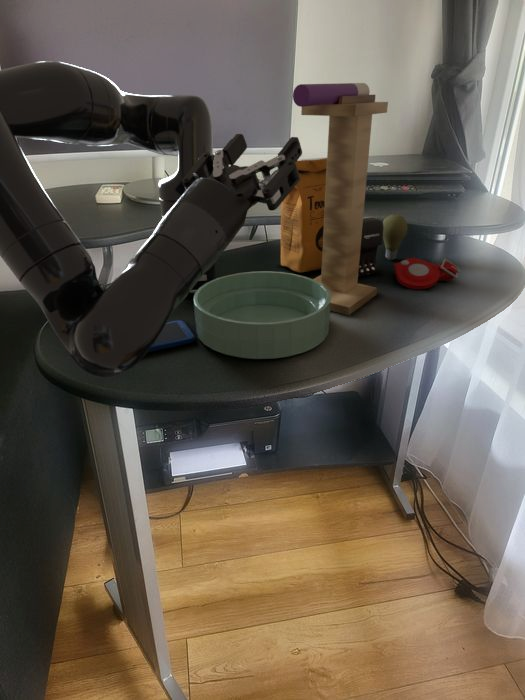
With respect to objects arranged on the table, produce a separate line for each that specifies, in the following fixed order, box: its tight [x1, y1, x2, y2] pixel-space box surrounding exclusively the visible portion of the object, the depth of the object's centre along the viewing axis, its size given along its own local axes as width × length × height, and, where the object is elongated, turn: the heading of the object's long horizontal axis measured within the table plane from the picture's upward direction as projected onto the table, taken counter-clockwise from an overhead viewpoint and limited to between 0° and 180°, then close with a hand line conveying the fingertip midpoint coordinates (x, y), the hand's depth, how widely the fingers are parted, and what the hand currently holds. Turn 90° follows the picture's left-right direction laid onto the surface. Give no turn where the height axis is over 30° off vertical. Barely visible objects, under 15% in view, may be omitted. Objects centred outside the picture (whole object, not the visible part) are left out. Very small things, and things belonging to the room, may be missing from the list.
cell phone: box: [146, 319, 196, 354], centre depth 74 cm, size 7×14×1 cm, turn 115°
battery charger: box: [358, 216, 384, 278], centre depth 96 cm, size 7×4×11 cm, turn 116°
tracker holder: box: [393, 257, 461, 290], centre depth 95 cm, size 12×4×10 cm
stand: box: [300, 94, 389, 316], centre depth 81 cm, size 12×11×33 cm
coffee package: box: [280, 157, 327, 274], centre depth 98 cm, size 10×12×22 cm
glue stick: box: [292, 82, 371, 108], centre depth 69 cm, size 18×3×3 cm, turn 144°
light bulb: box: [382, 213, 409, 262], centre depth 104 cm, size 6×6×10 cm
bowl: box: [192, 270, 331, 360], centre depth 76 cm, size 21×21×6 cm
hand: (269, 141), depth 61 cm, fingers open, 8 cm apart
